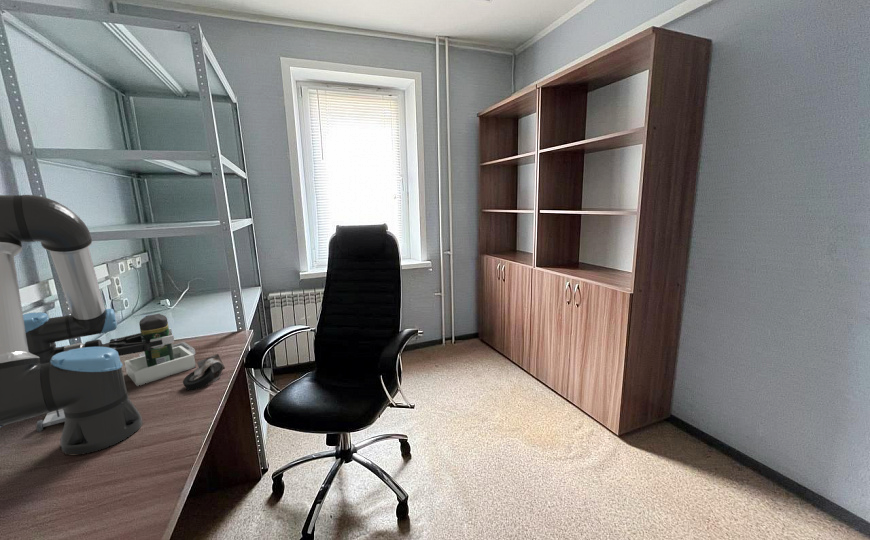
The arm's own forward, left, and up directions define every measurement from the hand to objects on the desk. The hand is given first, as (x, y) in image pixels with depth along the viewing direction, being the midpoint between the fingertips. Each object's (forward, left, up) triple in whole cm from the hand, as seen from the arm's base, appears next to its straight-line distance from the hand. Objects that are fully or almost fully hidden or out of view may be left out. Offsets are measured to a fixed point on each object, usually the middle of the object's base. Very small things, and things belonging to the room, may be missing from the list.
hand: (172, 335), depth 126 cm
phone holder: (-11, +29, -13) cm, 33 cm away
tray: (+1, +5, -12) cm, 13 cm away
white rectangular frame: (+14, 0, -12) cm, 19 cm away
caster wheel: (-22, -2, -13) cm, 26 cm away
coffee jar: (+1, +5, -10) cm, 11 cm away
